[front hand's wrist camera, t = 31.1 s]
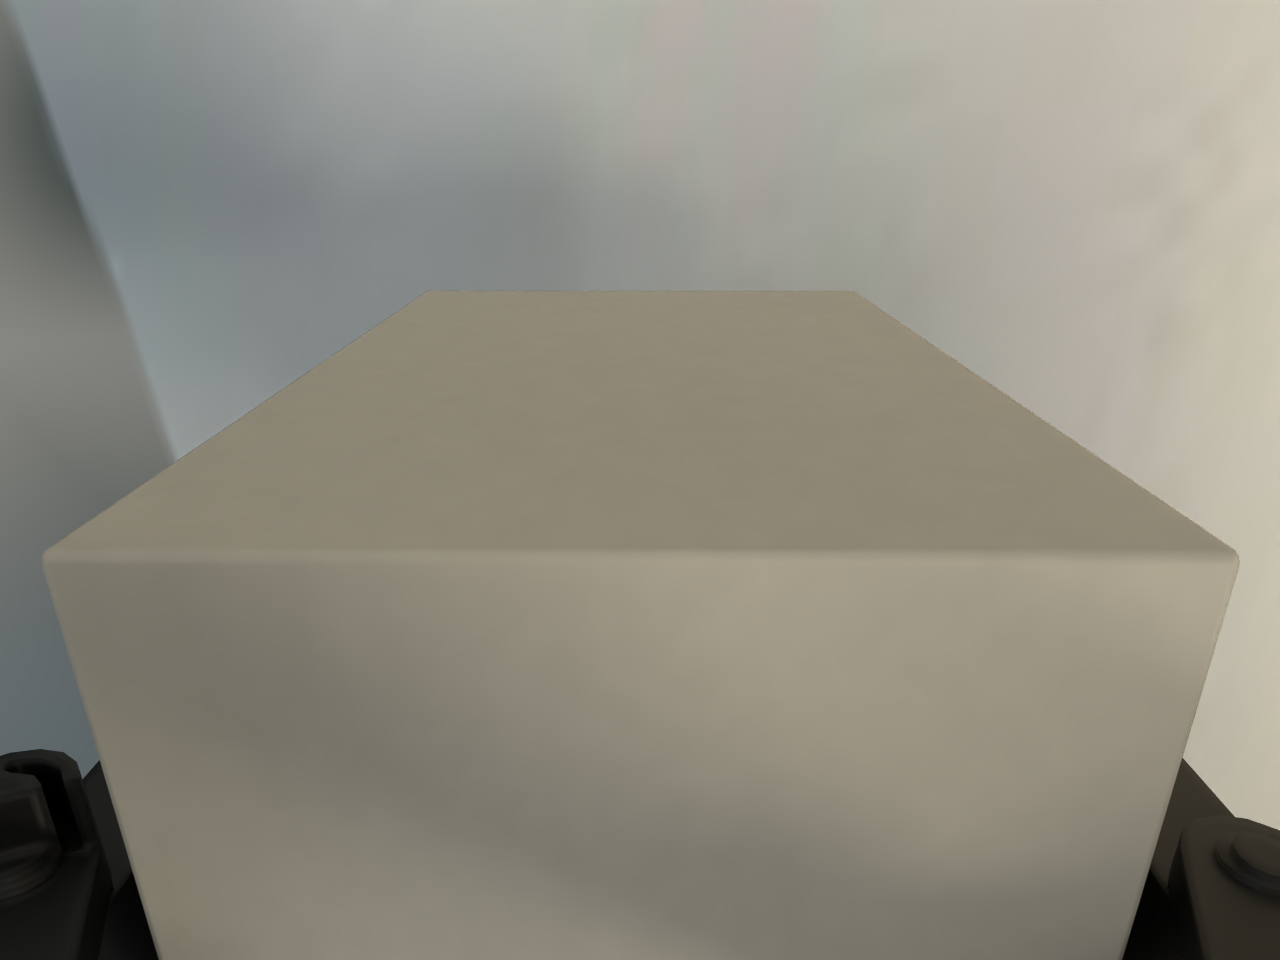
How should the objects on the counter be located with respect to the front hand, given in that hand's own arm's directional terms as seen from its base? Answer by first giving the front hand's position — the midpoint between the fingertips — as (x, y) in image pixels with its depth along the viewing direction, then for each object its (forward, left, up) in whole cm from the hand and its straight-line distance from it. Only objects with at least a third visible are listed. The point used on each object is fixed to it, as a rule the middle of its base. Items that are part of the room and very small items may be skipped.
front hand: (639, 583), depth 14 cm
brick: (0, 0, -3) cm, 3 cm away
